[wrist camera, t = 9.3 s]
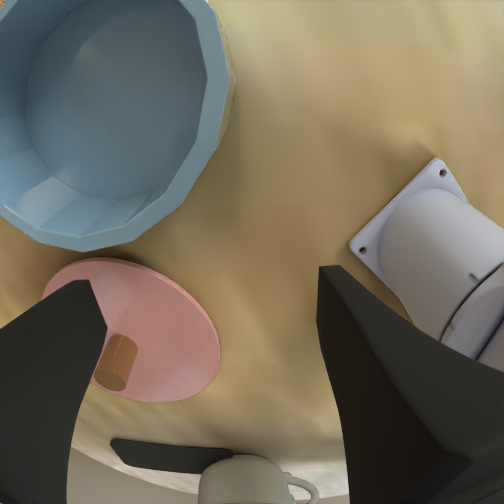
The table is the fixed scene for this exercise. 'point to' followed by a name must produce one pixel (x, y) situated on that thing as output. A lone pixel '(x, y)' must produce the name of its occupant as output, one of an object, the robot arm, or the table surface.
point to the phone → (168, 456)
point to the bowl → (107, 114)
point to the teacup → (249, 483)
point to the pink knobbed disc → (146, 331)
